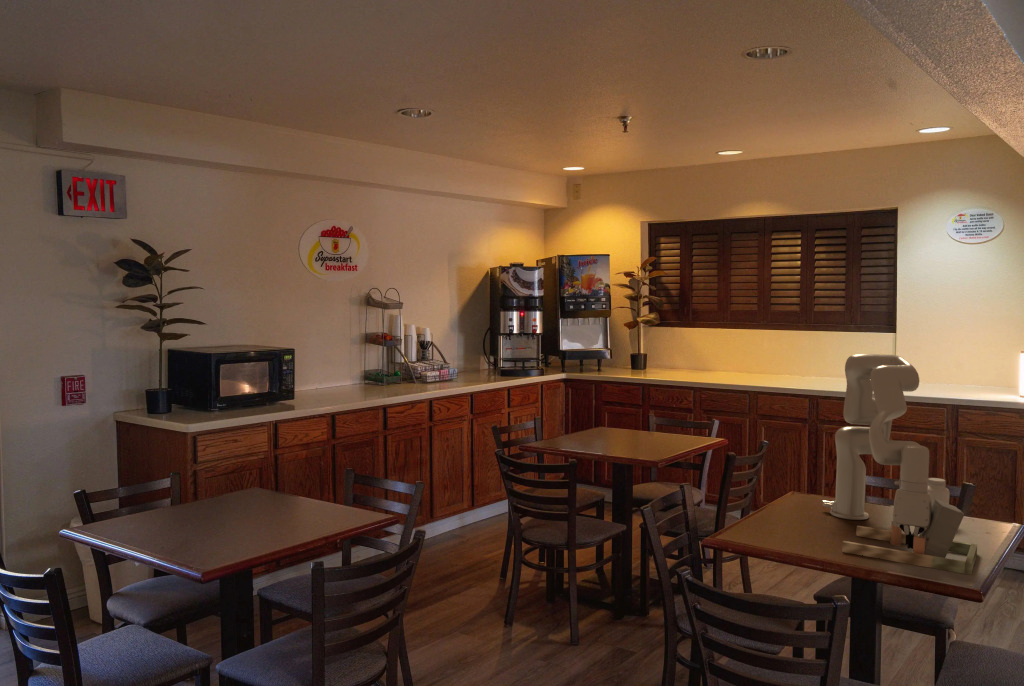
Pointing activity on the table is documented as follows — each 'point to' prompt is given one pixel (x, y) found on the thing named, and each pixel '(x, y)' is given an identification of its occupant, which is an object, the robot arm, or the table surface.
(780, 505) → the table surface
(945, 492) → the pill bottle
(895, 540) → the post
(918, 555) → the lane
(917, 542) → the post
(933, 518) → the skincare box
